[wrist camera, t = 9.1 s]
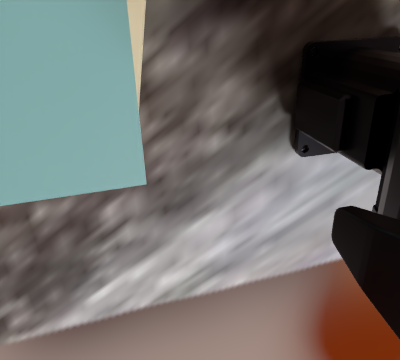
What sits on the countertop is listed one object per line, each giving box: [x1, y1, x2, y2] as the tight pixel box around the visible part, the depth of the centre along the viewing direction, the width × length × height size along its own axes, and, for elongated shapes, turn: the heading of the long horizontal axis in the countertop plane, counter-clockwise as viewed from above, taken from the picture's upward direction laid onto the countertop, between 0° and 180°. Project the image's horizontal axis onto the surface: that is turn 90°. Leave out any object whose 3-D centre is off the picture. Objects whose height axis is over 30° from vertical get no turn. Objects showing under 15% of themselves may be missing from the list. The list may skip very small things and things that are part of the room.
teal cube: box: [0, 0, 146, 206], centre depth 11 cm, size 6×6×6 cm
